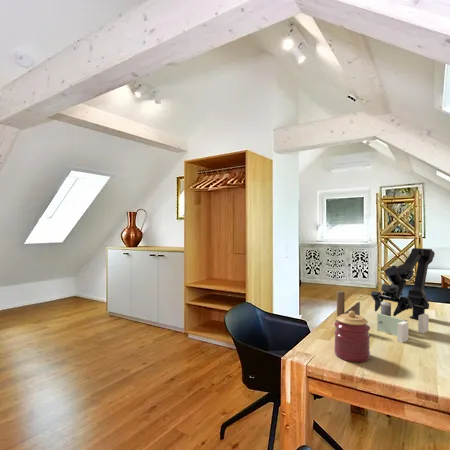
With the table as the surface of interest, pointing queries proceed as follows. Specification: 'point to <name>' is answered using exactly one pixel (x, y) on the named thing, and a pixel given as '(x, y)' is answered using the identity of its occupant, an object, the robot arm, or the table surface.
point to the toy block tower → (342, 305)
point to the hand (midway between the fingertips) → (384, 313)
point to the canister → (352, 337)
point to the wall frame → (422, 327)
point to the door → (388, 324)
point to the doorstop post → (386, 308)
